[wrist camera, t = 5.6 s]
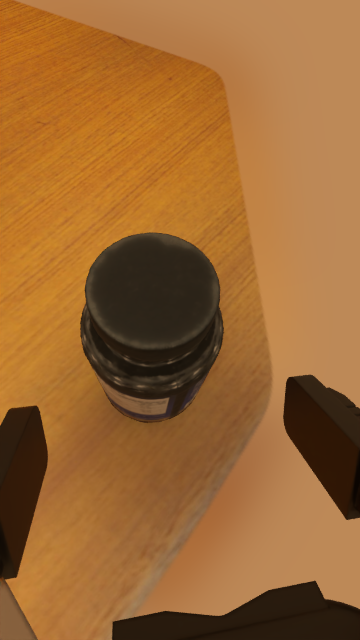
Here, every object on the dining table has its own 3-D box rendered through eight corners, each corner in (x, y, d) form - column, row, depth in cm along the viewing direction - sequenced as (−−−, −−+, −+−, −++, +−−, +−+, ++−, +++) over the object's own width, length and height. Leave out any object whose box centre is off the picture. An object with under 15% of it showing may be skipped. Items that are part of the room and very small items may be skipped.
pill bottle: (169, 315, 24) (186, 195, 14) (218, 392, 22) (278, 317, 12) (85, 357, 22) (34, 253, 12) (129, 445, 20) (112, 408, 10)
